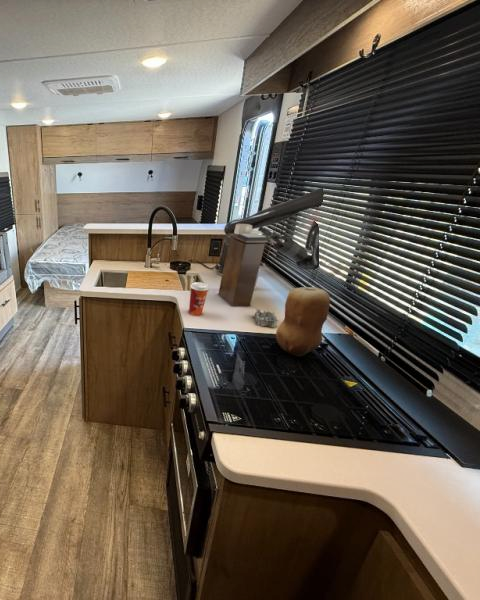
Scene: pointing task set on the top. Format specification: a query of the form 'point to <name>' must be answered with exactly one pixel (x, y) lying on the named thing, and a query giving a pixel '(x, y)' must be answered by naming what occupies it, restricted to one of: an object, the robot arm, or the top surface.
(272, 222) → the robot arm
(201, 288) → the paper cup
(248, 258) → the pedestal
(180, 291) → the top surface
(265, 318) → the grey knobbly lump
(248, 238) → the scale
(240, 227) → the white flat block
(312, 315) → the butternut squash
